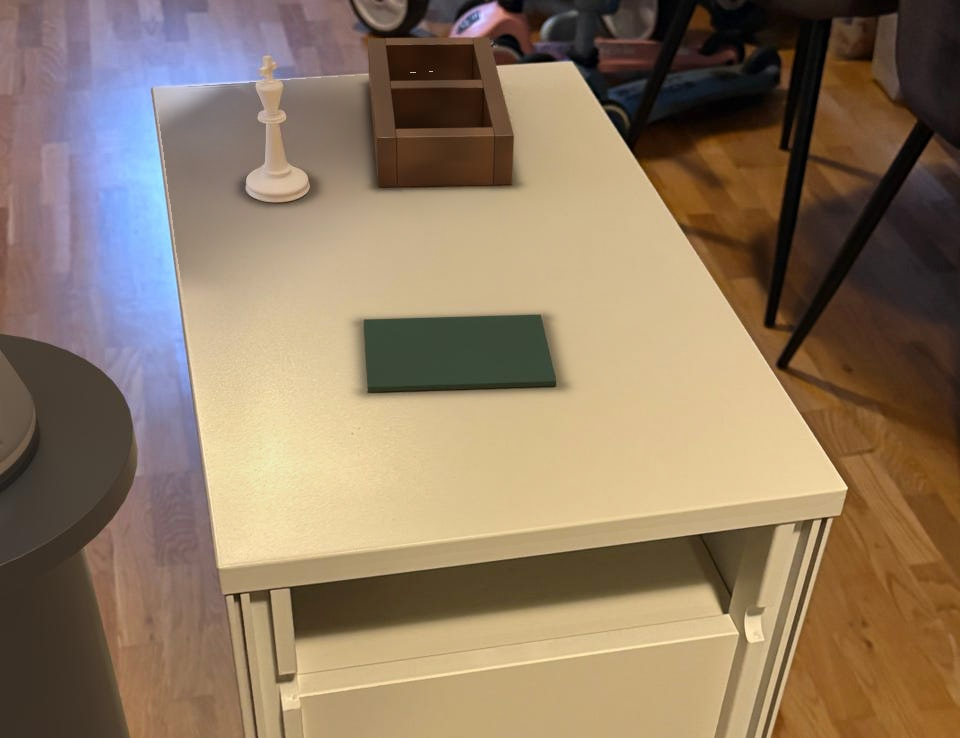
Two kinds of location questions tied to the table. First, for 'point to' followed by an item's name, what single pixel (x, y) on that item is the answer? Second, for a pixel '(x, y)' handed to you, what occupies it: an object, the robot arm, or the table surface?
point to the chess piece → (274, 147)
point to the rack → (438, 113)
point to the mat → (457, 353)
